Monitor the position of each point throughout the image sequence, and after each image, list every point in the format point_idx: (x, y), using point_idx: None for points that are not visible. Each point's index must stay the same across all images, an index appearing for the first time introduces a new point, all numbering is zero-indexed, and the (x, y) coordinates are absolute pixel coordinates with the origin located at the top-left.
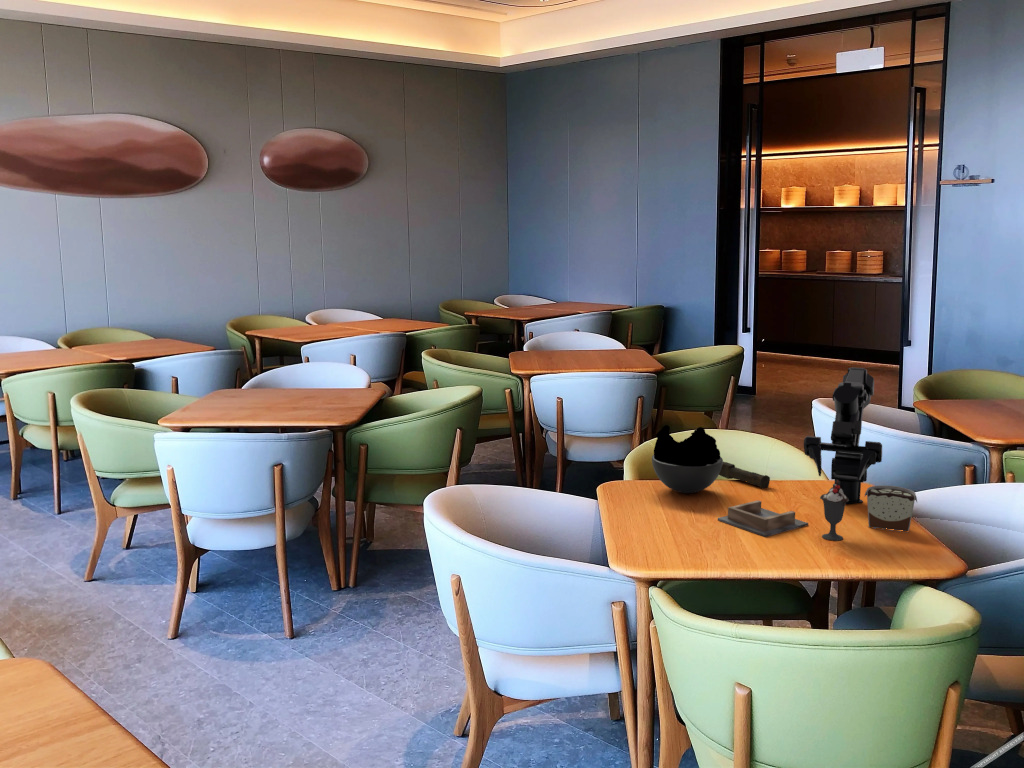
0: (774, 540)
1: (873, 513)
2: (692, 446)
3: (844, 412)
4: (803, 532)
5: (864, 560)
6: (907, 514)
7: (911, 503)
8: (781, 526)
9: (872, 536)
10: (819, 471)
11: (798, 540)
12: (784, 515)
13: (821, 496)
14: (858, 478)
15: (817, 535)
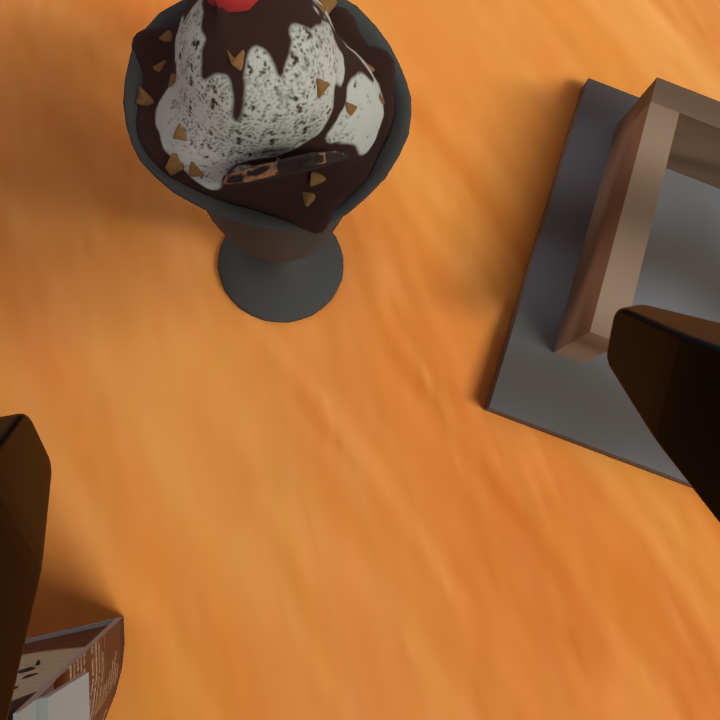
0: (523, 65)
1: (49, 653)
2: None
3: None
4: (454, 264)
5: (29, 4)
6: None
7: None
8: (584, 243)
9: (61, 427)
10: (664, 314)
11: (424, 124)
12: (613, 232)
13: (403, 101)
14: (9, 416)
15: (368, 256)
